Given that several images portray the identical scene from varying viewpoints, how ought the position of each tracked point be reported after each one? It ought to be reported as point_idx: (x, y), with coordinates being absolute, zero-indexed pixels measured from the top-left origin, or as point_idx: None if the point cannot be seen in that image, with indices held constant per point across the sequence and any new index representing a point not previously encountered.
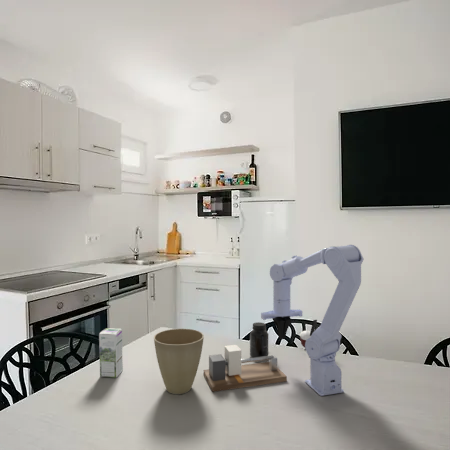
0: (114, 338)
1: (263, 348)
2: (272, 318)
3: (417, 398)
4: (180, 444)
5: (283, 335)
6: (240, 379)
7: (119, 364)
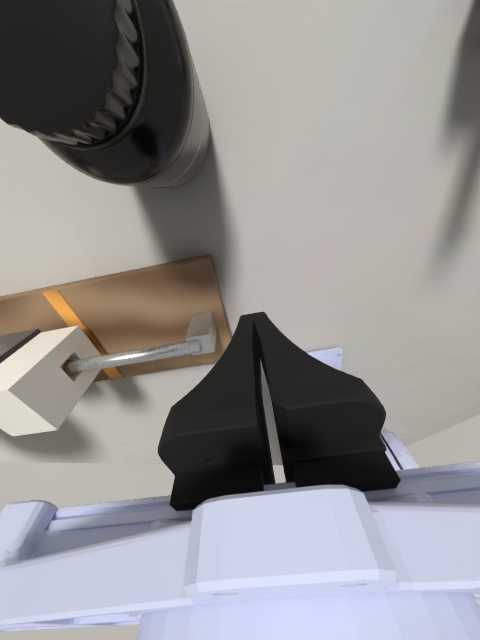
0: None
1: (169, 183)
2: (166, 427)
3: (442, 410)
4: (71, 462)
5: (261, 361)
6: (110, 367)
7: None
